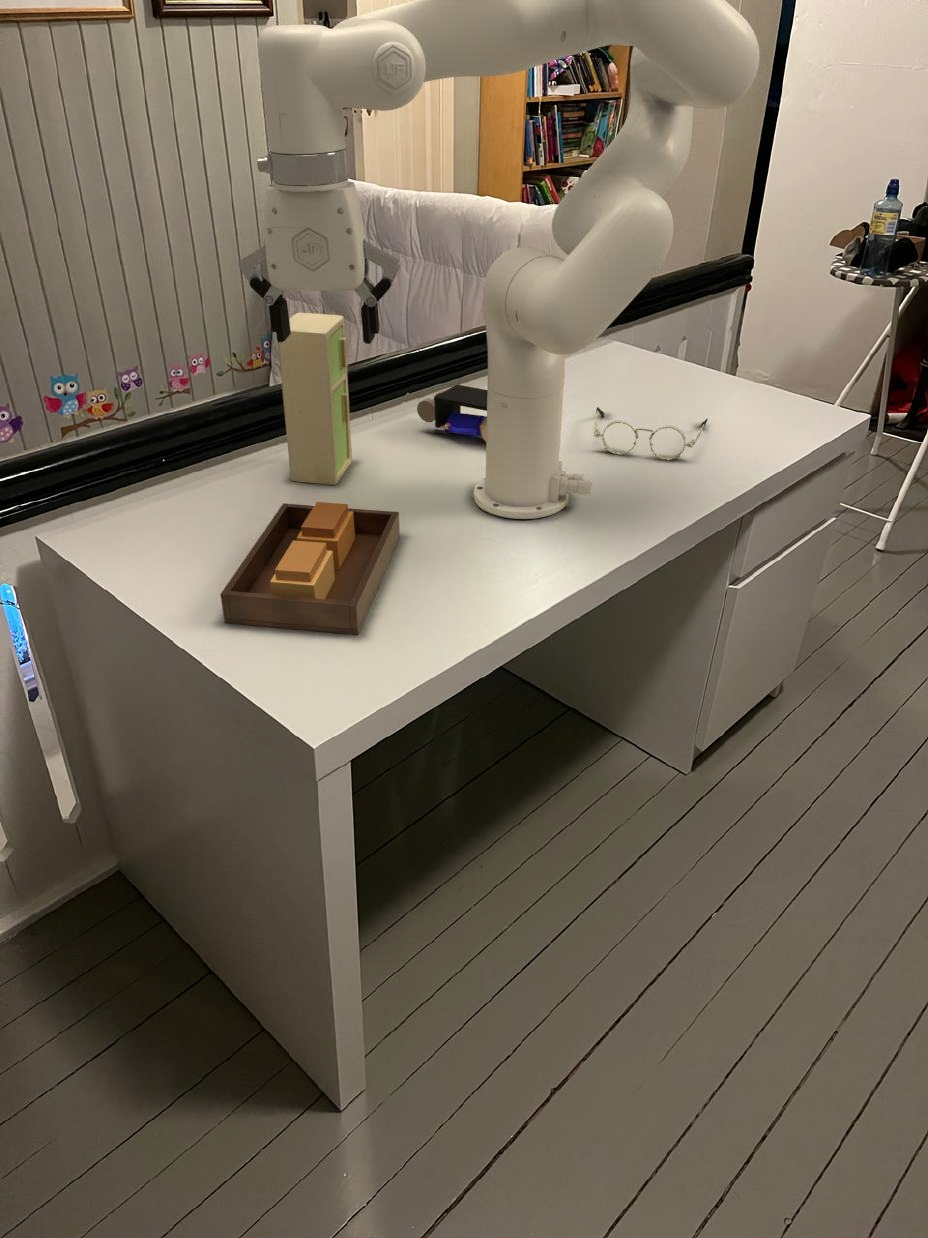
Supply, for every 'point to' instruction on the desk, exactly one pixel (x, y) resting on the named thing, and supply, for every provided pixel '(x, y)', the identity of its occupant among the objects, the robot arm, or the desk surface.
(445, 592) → the desk surface
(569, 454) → the desk surface
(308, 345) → the toy refrigerator
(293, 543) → the stepped wooden block
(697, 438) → the round wire eyeglasses
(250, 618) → the brown wooden tray
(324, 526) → the orange stepped block
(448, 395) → the figurine character
